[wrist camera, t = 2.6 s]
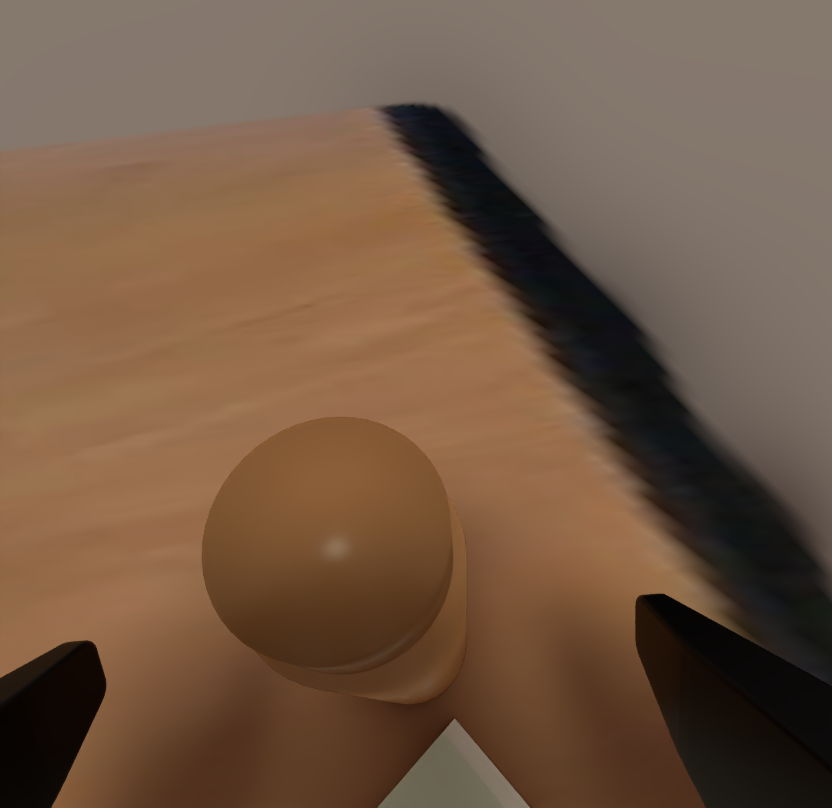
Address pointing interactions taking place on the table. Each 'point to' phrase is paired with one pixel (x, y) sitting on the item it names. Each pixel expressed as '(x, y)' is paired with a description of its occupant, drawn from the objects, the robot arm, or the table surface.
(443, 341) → the table surface
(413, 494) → the tan cylindrical piece
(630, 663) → the table surface
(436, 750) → the sheet
